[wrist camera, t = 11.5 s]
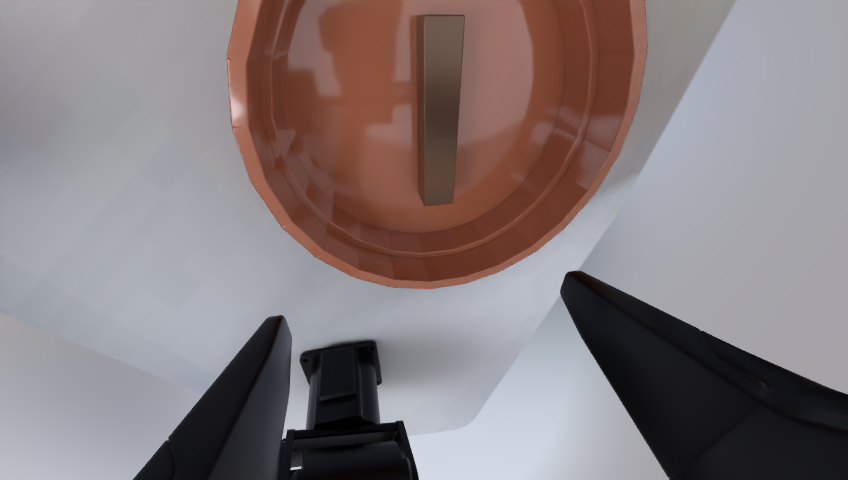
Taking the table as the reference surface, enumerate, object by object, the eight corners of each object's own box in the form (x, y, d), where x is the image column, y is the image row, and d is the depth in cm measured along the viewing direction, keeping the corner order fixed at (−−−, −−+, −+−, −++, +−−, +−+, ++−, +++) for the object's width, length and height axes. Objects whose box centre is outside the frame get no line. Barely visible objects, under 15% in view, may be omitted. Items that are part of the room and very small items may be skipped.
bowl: (538, 225, 24) (577, 267, 20) (304, 254, 21) (295, 309, 17) (621, -100, 14) (734, -148, 10) (194, -132, 11) (107, -220, 7)
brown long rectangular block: (445, 190, 20) (453, 203, 18) (417, 193, 19) (423, 207, 18) (453, 15, 14) (465, 14, 13) (415, 14, 14) (423, 14, 13)
